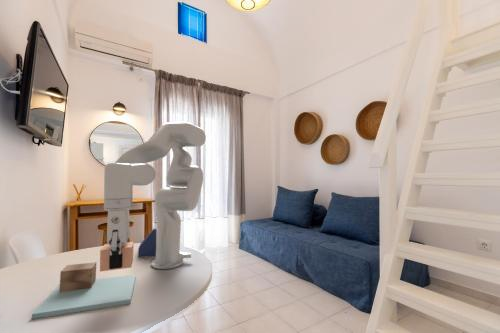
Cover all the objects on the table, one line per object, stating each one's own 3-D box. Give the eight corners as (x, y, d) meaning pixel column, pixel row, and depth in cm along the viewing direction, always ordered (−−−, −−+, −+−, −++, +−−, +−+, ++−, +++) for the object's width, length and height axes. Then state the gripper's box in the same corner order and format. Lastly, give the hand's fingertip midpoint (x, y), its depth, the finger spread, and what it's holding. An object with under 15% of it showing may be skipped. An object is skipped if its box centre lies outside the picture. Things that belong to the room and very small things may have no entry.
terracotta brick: (133, 260, 75) (133, 241, 75) (131, 267, 70) (131, 247, 70) (104, 264, 72) (104, 244, 72) (99, 271, 67) (100, 250, 67)
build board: (135, 278, 83) (135, 274, 83) (130, 303, 66) (130, 299, 66) (59, 287, 75) (59, 283, 75) (31, 319, 58) (31, 314, 58)
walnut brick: (95, 280, 78) (96, 262, 78) (91, 288, 72) (92, 268, 73) (66, 284, 75) (67, 265, 75) (59, 292, 70) (60, 271, 70)
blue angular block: (141, 249, 116) (142, 224, 117) (167, 247, 120) (168, 223, 121) (138, 257, 105) (139, 229, 106) (166, 254, 109) (167, 228, 109)
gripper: (129, 207, 64) (128, 274, 64) (134, 199, 80) (134, 252, 80) (97, 209, 61) (95, 278, 61) (109, 200, 77) (108, 255, 77)
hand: (117, 263), depth 71 cm, fingers closed on terracotta brick, 5 cm apart
